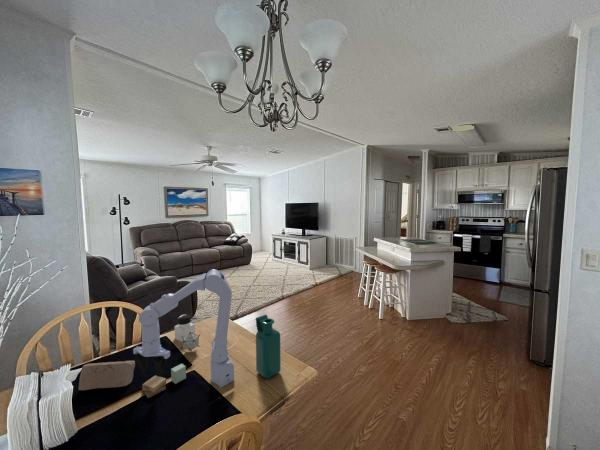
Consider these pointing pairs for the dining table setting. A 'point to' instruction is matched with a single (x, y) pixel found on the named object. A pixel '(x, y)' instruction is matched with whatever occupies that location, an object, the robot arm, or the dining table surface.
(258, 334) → the green bottle
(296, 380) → the dining table surface
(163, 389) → the slab lower
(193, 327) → the medicine bottle
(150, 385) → the slab upper
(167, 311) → the robot arm
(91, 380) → the brick
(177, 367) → the sage block
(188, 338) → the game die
